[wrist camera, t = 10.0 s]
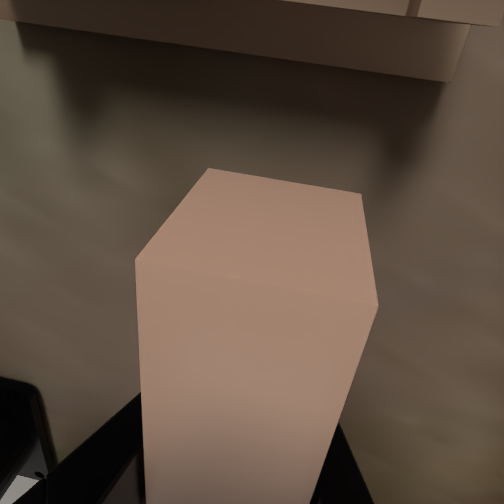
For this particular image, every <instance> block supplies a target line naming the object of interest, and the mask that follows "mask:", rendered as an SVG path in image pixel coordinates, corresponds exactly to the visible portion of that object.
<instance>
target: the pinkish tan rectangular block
mask: <svg viewBox="0 0 504 504" xmlns="http://www.w3.org/2000/svg"><path fill="white" fill-rule="evenodd" d="M135 271H136V293H137V315H138V336H139V358H140V380H141V402H142V424H143V445H144V467H145V489H146V504H309V503H310V500H311V498H312V495H313V492H314V489H315V486H316V483H317V480H318V478H319V475H320V472H321V469H322V466H323V463H324V460H325V458H326V455H327V452H328V449H329V446H330V443H331V440H332V438H333V435H334V432H335V429H336V426H337V423H338V420H339V418H340V415H341V412H342V409H343V406H344V403H345V400H346V398H347V395H348V392H349V389H350V386H351V383H352V380H353V378H354V375H355V372H356V369H357V366H358V363H359V360H360V358H361V355H362V352H363V349H364V346H365V343H366V341H367V338H368V335H369V332H370V329H371V326H372V323H373V321H374V318H375V315H376V312H377V309H378V300H377V293H376V287H375V280H374V274H373V267H372V261H371V255H370V248H369V242H368V235H367V229H366V222H365V216H364V209H363V203H362V197H361V194H359V193H353V192H347V191H341V190H335V189H330V188H324V187H318V186H312V185H306V184H300V183H294V182H288V181H282V180H276V179H270V178H265V177H259V176H253V175H247V174H241V173H235V172H229V171H223V170H217V169H211V168H208V169H207V170H206V172H205V173H204V174H203V175H202V177H201V178H200V179H199V180H198V182H197V183H196V184H195V185H194V187H193V188H192V189H191V190H190V192H189V193H188V194H187V195H186V197H185V198H184V199H183V200H182V201H181V203H180V204H179V205H178V206H177V208H176V209H175V210H174V211H173V213H172V214H171V215H170V216H169V218H168V219H167V220H166V221H165V223H164V224H163V225H162V226H161V228H160V229H159V230H158V231H157V233H156V234H155V235H154V236H153V237H152V239H151V240H150V241H149V242H148V244H147V245H146V246H145V247H144V249H143V250H142V251H141V252H140V254H139V255H138V256H137V257H136V259H135Z"/></svg>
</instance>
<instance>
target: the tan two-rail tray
mask: <svg viewBox="0 0 504 504" xmlns="http://www.w3.org/2000/svg"><path fill="white" fill-rule="evenodd" d="M503 14H504V0H0V19H3V20H10V21H17V22H25V23H32V24H39V25H46V26H53V27H60V28H67V29H74V30H81V31H88V32H95V33H102V34H109V35H116V36H123V37H130V38H137V39H145V40H152V41H159V42H166V43H173V44H180V45H187V46H194V47H201V48H208V49H215V50H222V51H229V52H236V53H243V54H250V55H257V56H265V57H272V58H279V59H286V60H293V61H300V62H307V63H314V64H321V65H328V66H335V67H342V68H349V69H356V70H363V71H370V72H378V73H385V74H392V75H399V76H406V77H413V78H420V79H427V80H434V81H441V82H448V83H451V82H452V79H453V76H454V73H455V70H456V67H457V65H458V62H459V59H460V56H461V53H462V50H463V47H464V44H465V41H466V38H467V35H468V32H469V30H470V27H471V25H481V26H492V27H499V25H500V22H501V19H502V17H503Z"/></svg>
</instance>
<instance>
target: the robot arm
mask: <svg viewBox="0 0 504 504" xmlns="http://www.w3.org/2000/svg"><path fill="white" fill-rule="evenodd" d="M17 475H20V476H24V477H28V478H32V479H37V480H39V481H38V482H37V483H36V484H35V485H34V486H33V487H32V488H30V489H29V490H28V491H27V492H26V493H25V494H24V495H22V496H21V497H20V498H19V499H17V500H16V501H15V502H14V503H13V504H146V489H145V467H144V445H143V424H142V402H141V392H140V393H139V394H138V395H137V396H136V397H135V398H133V399H132V400H131V401H130V402H129V403H128V404H127V405H125V406H124V407H123V408H122V409H121V410H120V411H119V412H117V413H116V414H115V415H114V416H113V417H112V418H111V419H109V420H108V421H107V422H106V423H105V424H104V425H103V426H101V427H100V428H99V429H98V430H97V431H96V432H95V433H93V434H92V435H91V436H90V437H89V438H88V439H87V440H85V441H84V442H83V443H82V444H81V445H80V446H79V447H77V448H76V449H75V450H74V451H73V452H72V453H71V454H69V455H68V456H67V457H66V458H65V459H64V460H63V461H61V462H60V463H59V464H58V465H57V466H56V467H55V468H54V466H53V462H52V458H51V454H50V450H49V446H48V442H47V438H46V434H45V430H44V426H43V422H42V418H41V414H40V410H39V406H38V402H37V398H36V394H35V392H34V390H33V389H32V388H31V387H30V386H28V385H27V384H24V383H21V382H16V381H12V380H8V379H3V378H0V500H1V498H2V497H3V495H4V494H5V492H6V491H7V489H8V488H9V486H10V485H11V483H12V482H13V481H14V479H15V478H16V476H17ZM309 504H374V502H373V500H372V497H371V495H370V493H369V490H368V488H367V486H366V483H365V481H364V479H363V476H362V474H361V472H360V470H359V467H358V465H357V463H356V460H355V458H354V456H353V453H352V451H351V449H350V447H349V444H348V442H347V440H346V437H345V435H344V433H343V430H342V428H341V426H340V423H339V421H338V423H337V426H336V429H335V432H334V435H333V438H332V440H331V443H330V446H329V449H328V452H327V455H326V458H325V460H324V463H323V466H322V469H321V472H320V475H319V478H318V480H317V483H316V486H315V489H314V492H313V495H312V498H311V500H310V503H309Z"/></svg>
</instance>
